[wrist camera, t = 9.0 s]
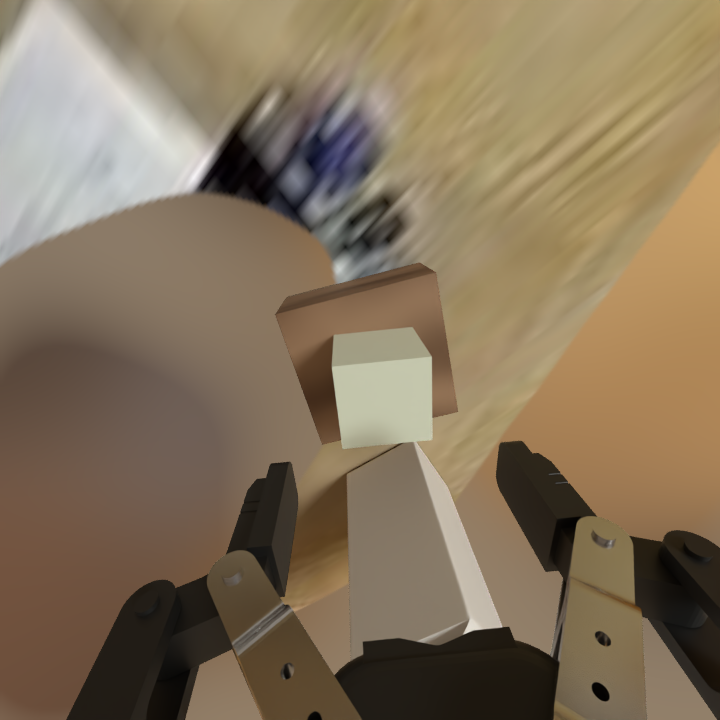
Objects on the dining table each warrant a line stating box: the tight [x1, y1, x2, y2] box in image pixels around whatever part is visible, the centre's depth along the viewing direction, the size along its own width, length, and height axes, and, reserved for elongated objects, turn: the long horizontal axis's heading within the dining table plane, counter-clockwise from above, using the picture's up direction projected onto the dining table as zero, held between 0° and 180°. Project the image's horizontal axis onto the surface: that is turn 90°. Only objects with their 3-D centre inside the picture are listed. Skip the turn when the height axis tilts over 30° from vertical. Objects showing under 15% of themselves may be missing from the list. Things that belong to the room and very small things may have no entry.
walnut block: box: [275, 263, 458, 445], centre depth 25 cm, size 10×10×5 cm
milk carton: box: [347, 442, 502, 661], centre depth 24 cm, size 7×7×19 cm
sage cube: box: [332, 327, 432, 449], centre depth 20 cm, size 5×5×5 cm
